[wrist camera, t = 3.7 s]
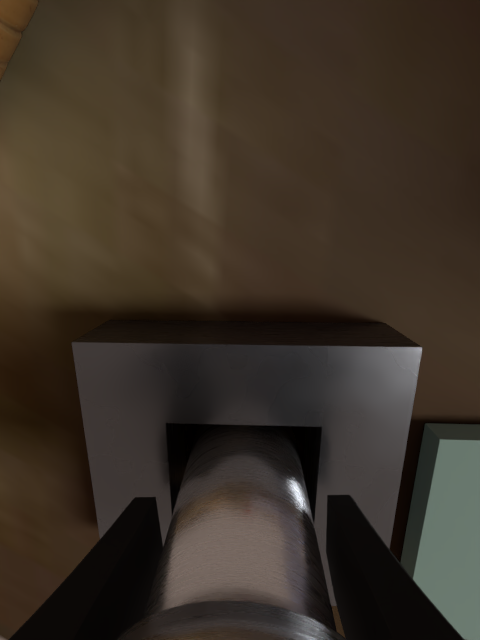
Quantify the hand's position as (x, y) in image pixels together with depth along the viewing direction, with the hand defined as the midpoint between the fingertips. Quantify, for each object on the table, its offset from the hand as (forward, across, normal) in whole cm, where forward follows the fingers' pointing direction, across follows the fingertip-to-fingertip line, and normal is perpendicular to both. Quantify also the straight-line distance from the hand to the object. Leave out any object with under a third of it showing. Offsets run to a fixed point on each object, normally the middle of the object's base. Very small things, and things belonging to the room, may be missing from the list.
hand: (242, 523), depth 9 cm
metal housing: (+4, 0, 0) cm, 4 cm away
